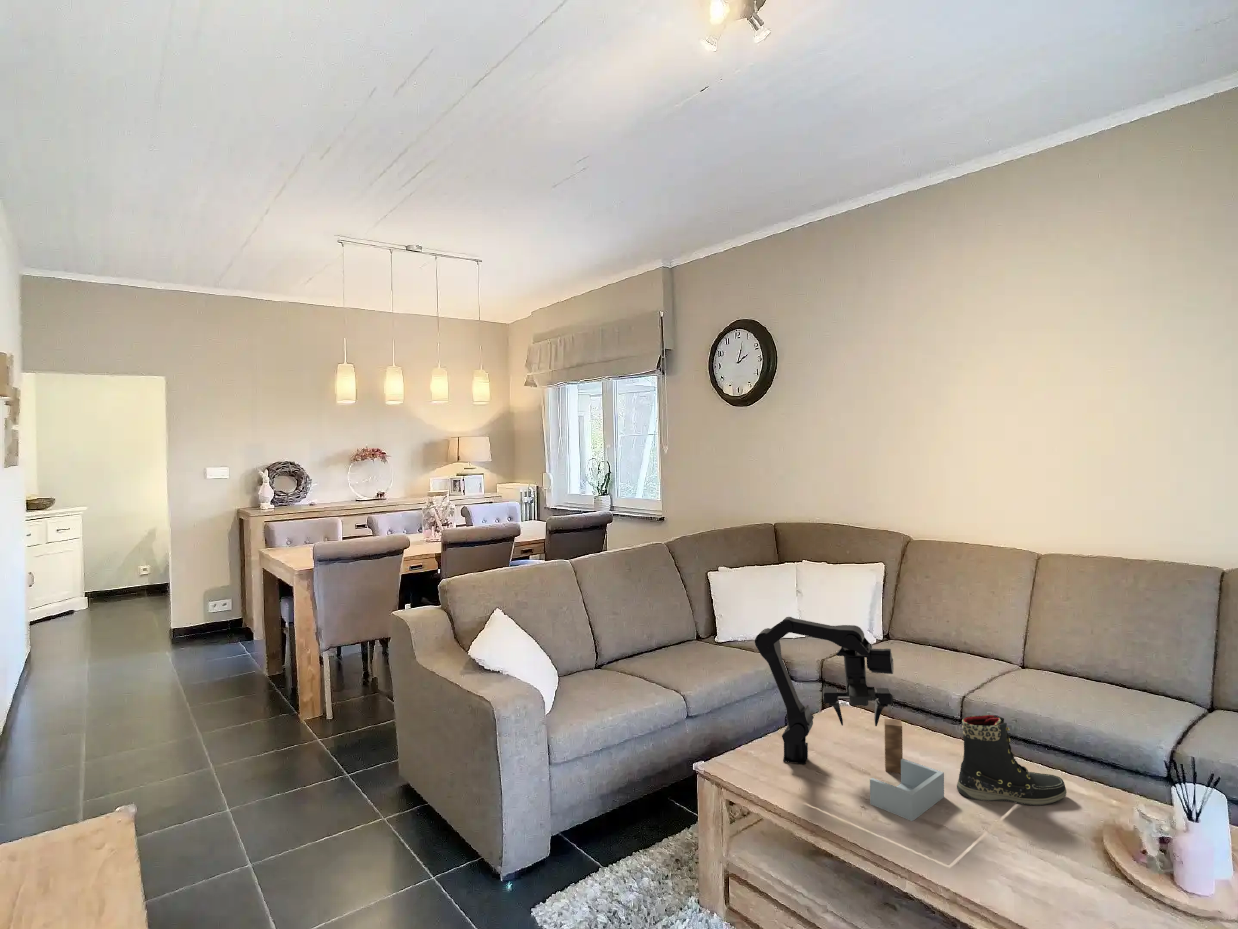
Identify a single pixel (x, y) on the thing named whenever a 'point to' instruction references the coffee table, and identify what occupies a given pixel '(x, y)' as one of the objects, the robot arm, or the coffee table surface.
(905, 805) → the crate
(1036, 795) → the boot
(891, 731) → the walnut block
